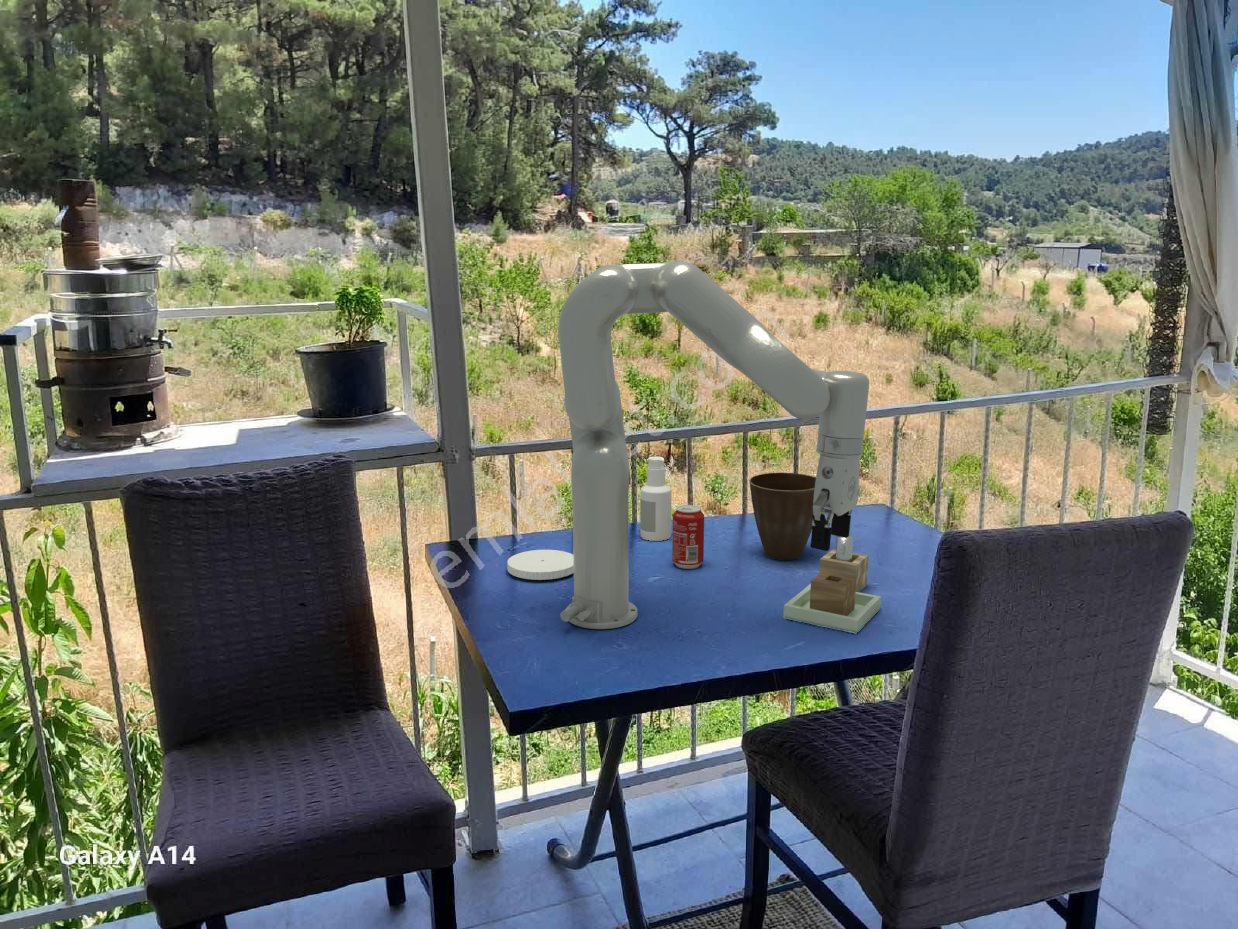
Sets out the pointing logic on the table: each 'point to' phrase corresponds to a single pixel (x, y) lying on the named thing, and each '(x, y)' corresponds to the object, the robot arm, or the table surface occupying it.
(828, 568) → the go block
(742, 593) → the table surface
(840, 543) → the cylinder
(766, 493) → the plant pot
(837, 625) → the tray
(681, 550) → the beverage can
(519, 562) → the plastic lid
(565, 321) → the robot arm
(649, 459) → the spray bottle
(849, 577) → the block
